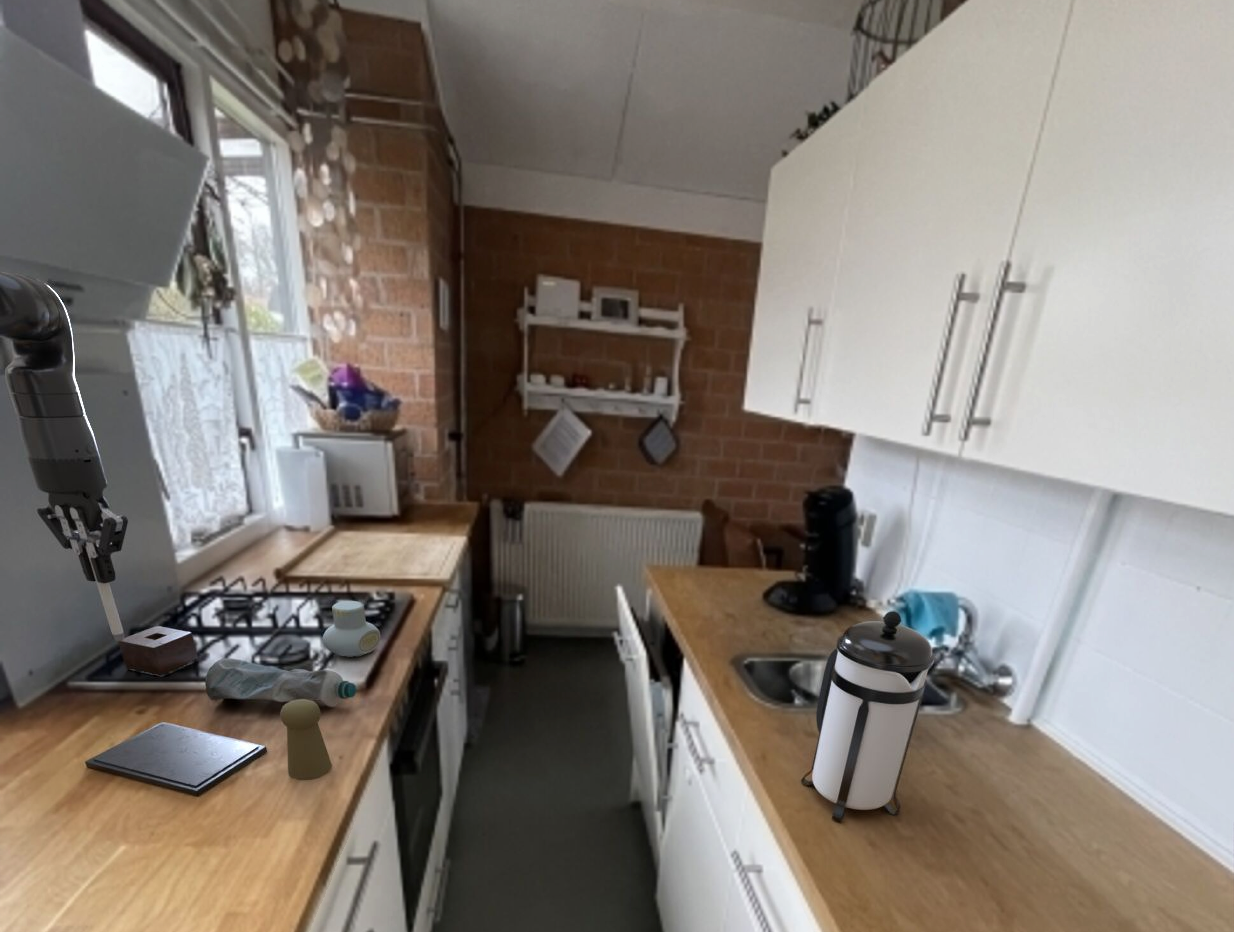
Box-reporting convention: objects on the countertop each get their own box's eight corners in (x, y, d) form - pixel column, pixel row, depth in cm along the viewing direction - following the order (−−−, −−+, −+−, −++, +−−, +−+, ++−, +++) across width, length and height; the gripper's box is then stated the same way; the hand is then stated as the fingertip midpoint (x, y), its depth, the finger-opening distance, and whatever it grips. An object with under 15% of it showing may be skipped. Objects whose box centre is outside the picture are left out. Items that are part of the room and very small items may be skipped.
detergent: (194, 709, 118) (333, 726, 115) (186, 669, 115) (328, 685, 112) (245, 683, 130) (372, 697, 127) (239, 646, 127) (369, 659, 124)
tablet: (86, 767, 102) (83, 760, 101) (164, 726, 113) (162, 720, 112) (198, 796, 97) (196, 789, 96) (267, 751, 108) (266, 745, 108)
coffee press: (913, 790, 110) (966, 609, 96) (882, 841, 98) (938, 641, 84) (808, 753, 118) (844, 581, 104) (769, 795, 106) (802, 607, 92)
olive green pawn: (340, 766, 106) (330, 701, 101) (305, 784, 101) (293, 717, 96) (314, 753, 108) (303, 690, 103) (279, 770, 104) (265, 705, 99)
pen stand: (126, 670, 130) (117, 640, 127) (165, 654, 137) (157, 625, 134) (162, 678, 128) (153, 647, 125) (199, 661, 135) (192, 632, 132)
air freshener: (354, 639, 149) (348, 594, 144) (387, 646, 147) (382, 600, 142) (318, 657, 140) (310, 610, 135) (353, 665, 137) (346, 617, 133)
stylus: (111, 640, 103) (82, 546, 96) (120, 637, 104) (92, 543, 98) (119, 641, 102) (90, 547, 96) (127, 638, 104) (100, 545, 97)
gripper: (-8, 450, 89) (38, 581, 97) (76, 460, 86) (115, 595, 94) (51, 444, 96) (89, 567, 104) (130, 453, 93) (163, 580, 101)
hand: (101, 580), depth 99 cm, fingers closed on stylus, 1 cm apart
